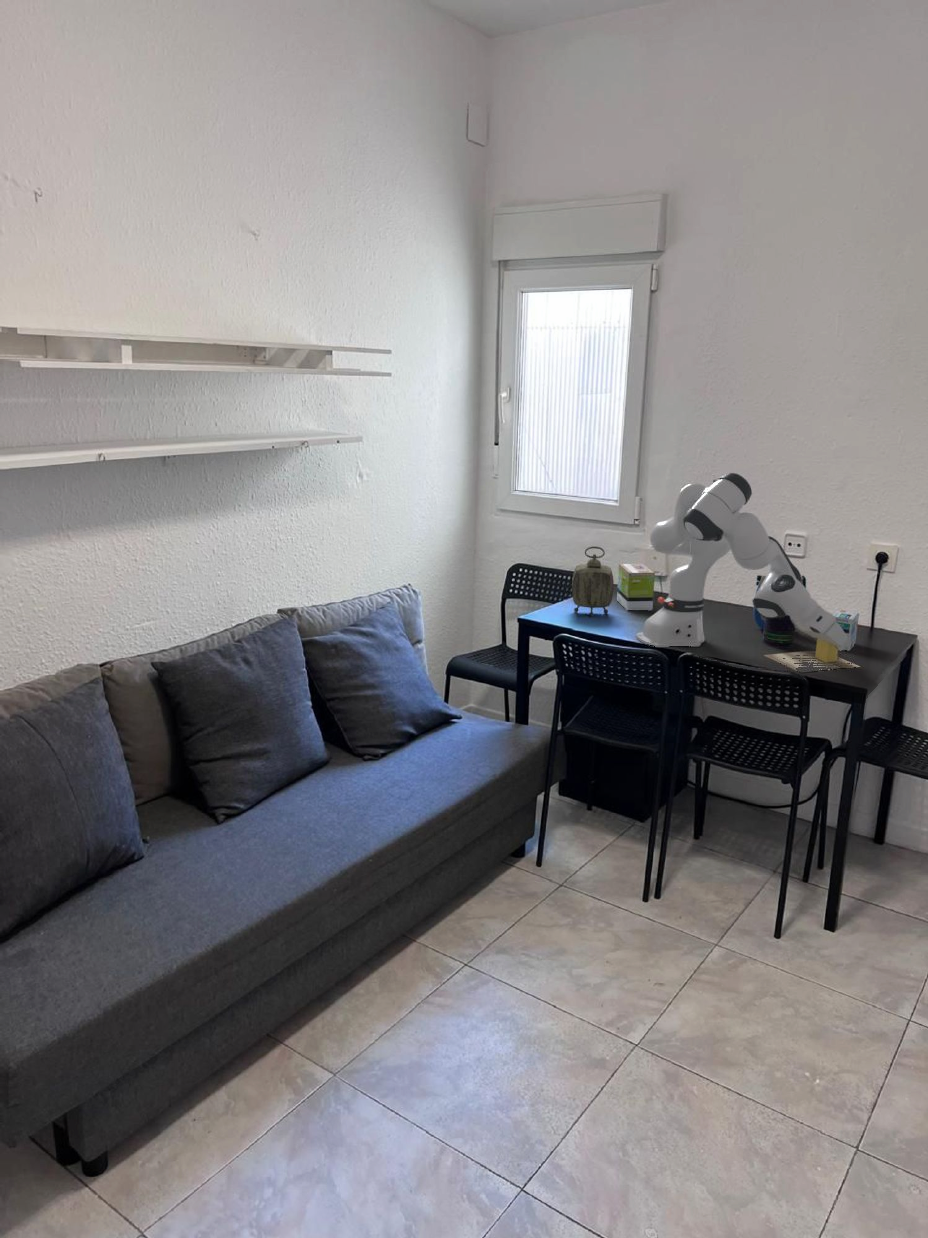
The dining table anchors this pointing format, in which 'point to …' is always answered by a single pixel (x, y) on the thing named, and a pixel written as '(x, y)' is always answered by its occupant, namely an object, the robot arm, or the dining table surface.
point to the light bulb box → (848, 626)
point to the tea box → (635, 586)
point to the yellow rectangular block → (826, 651)
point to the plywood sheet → (790, 661)
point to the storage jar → (779, 632)
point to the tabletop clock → (592, 584)
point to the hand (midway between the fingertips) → (830, 644)
